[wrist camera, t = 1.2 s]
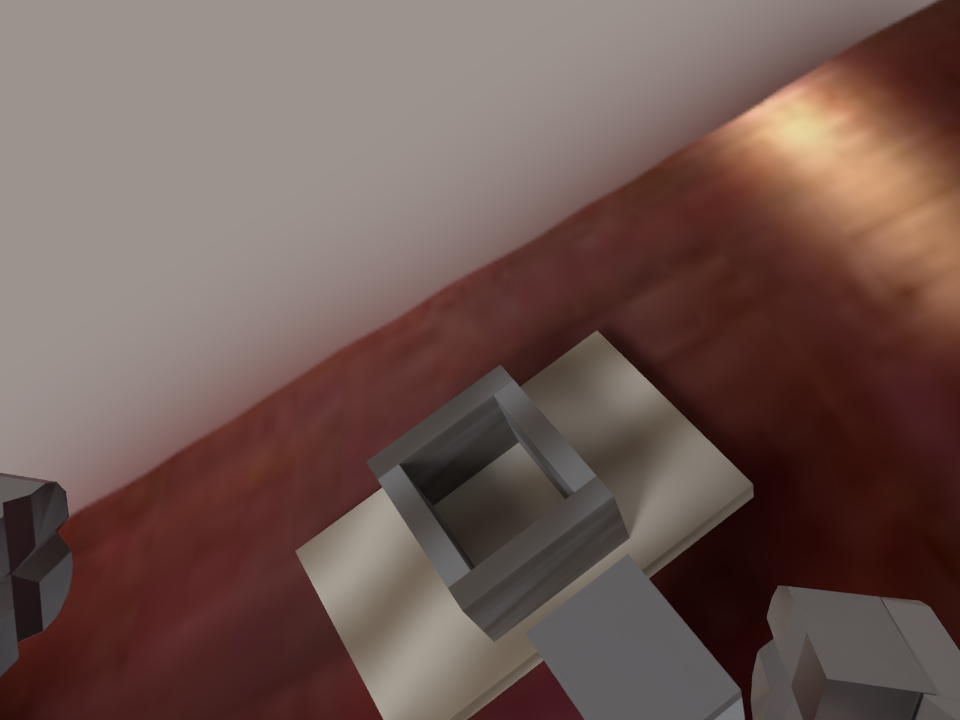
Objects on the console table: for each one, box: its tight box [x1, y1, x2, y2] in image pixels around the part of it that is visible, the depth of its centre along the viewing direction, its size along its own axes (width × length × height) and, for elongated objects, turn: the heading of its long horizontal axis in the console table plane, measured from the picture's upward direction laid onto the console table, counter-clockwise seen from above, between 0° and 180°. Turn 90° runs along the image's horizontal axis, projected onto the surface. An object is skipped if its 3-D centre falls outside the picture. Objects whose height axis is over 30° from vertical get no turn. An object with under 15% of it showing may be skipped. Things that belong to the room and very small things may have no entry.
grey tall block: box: [526, 554, 745, 720], centre depth 30 cm, size 5×4×14 cm
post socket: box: [295, 331, 754, 720], centre depth 40 cm, size 12×20×6 cm, turn 123°
